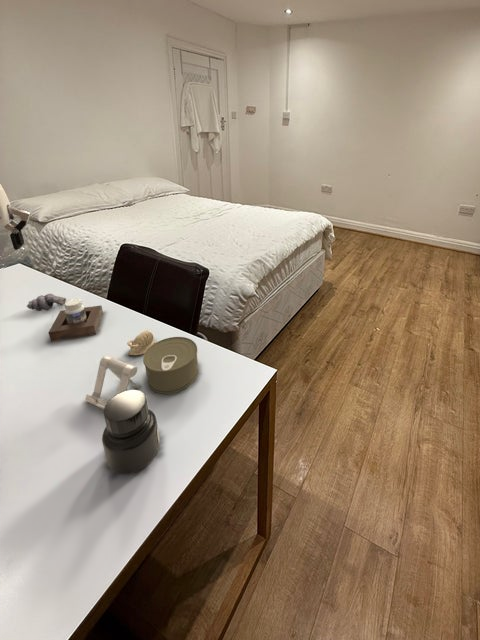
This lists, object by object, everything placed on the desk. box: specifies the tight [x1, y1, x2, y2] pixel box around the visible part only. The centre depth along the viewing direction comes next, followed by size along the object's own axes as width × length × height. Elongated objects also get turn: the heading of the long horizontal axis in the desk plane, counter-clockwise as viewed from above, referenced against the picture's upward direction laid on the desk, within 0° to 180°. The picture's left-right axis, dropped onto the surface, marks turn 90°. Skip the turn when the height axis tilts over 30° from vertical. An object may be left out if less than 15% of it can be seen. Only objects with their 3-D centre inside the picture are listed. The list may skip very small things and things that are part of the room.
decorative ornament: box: [126, 330, 155, 356], centre depth 86 cm, size 4×8×5 cm, turn 157°
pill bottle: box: [64, 298, 87, 325], centre depth 93 cm, size 5×5×8 cm
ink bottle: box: [101, 389, 161, 475], centre depth 59 cm, size 10×9×12 cm
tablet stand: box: [85, 355, 139, 410], centre depth 71 cm, size 9×8×8 cm
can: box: [143, 336, 199, 395], centre depth 78 cm, size 12×12×7 cm
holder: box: [48, 305, 104, 342], centre depth 94 cm, size 11×11×3 cm
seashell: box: [26, 293, 67, 312], centre depth 101 cm, size 5×5×10 cm
